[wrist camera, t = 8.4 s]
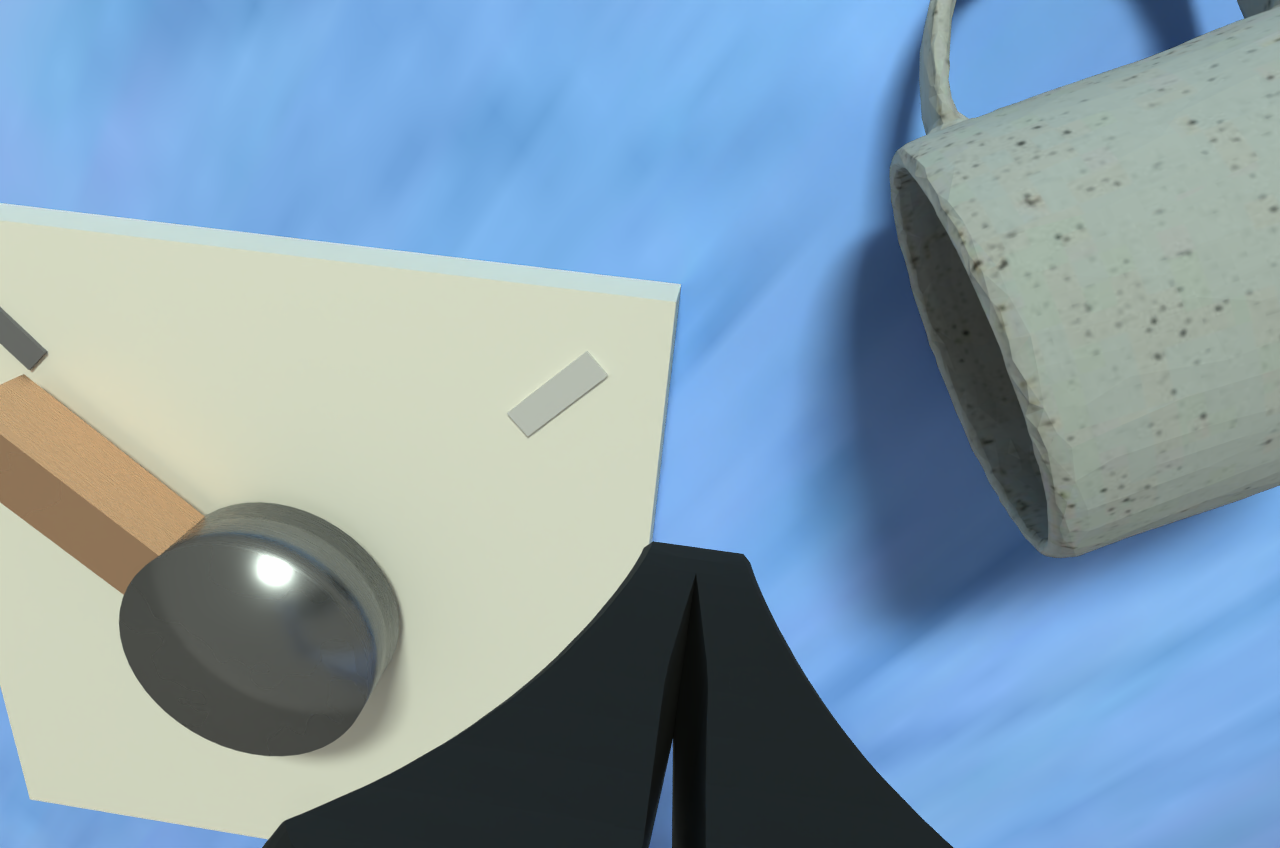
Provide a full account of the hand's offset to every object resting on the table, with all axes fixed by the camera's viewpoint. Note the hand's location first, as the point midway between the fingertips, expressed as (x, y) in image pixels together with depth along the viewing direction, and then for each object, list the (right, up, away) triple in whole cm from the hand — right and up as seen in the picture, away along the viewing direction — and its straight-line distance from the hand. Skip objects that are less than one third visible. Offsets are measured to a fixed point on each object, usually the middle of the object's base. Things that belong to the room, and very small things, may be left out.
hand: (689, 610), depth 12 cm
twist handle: (-11, 0, +10) cm, 15 cm away
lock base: (-9, -1, +12) cm, 15 cm away
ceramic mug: (+8, +8, +6) cm, 13 cm away
